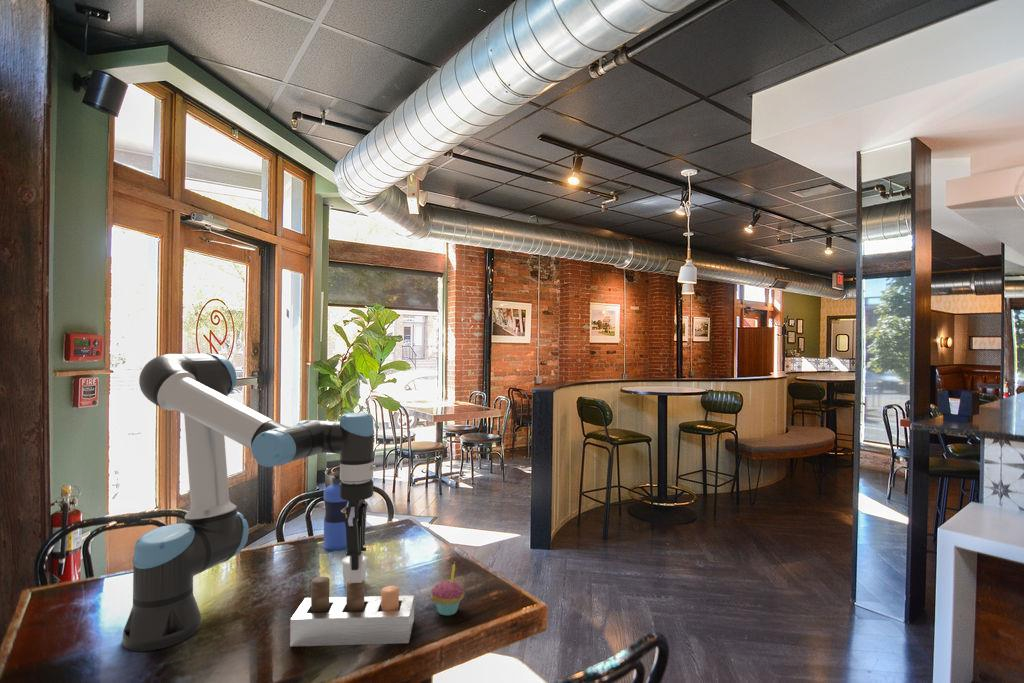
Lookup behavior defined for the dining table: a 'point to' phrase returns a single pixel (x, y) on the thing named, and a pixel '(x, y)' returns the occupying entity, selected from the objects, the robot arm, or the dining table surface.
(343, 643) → the jig
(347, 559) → the white cup
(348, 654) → the dining table surface
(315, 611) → the plug near
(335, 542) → the water bottle
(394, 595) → the plug terracotta
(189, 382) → the robot arm
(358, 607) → the plug mid
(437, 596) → the cupcake
